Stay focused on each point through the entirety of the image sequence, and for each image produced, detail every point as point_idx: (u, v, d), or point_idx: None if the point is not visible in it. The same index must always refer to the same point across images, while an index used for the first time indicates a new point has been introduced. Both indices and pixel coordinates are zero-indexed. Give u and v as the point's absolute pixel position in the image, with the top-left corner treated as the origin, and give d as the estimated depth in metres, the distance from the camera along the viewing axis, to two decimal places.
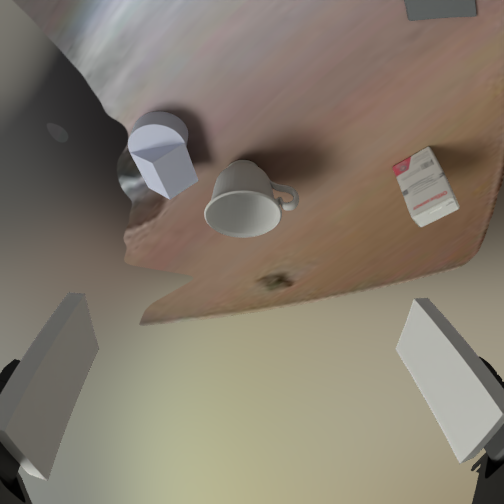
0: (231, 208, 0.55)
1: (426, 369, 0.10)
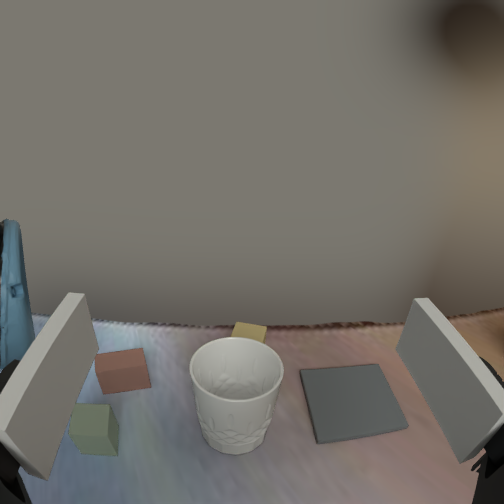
0: None
1: (426, 369, 0.10)
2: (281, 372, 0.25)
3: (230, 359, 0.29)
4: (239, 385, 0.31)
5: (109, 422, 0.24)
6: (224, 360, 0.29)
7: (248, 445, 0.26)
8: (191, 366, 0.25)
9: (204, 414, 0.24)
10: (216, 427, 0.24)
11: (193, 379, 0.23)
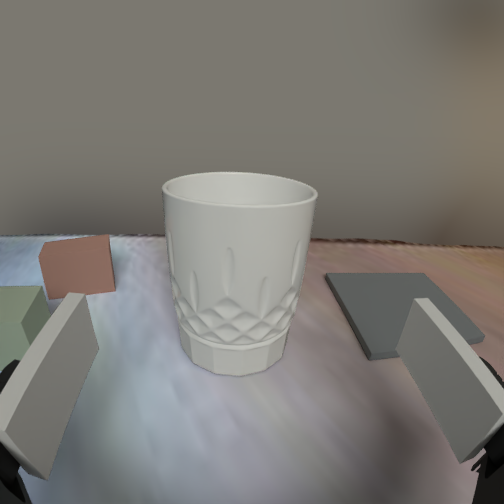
0: None
1: (426, 369, 0.10)
2: (313, 192, 0.15)
3: None
4: None
5: (34, 309, 0.15)
6: None
7: (259, 353, 0.17)
8: (166, 185, 0.15)
9: (181, 270, 0.15)
10: (202, 297, 0.15)
11: (165, 191, 0.14)
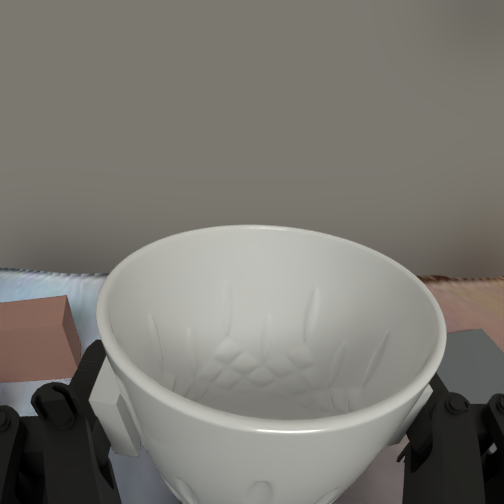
0: None
1: None
2: (429, 297, 0.07)
3: (245, 296, 0.11)
4: (266, 372, 0.12)
5: None
6: (228, 299, 0.11)
7: None
8: (111, 282, 0.07)
9: (159, 464, 0.06)
10: None
11: (98, 320, 0.05)
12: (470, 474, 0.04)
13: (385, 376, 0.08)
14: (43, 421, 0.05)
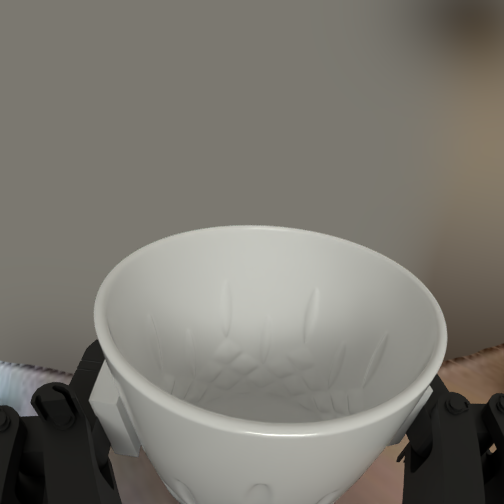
0: None
1: None
2: (429, 298, 0.07)
3: (245, 297, 0.11)
4: (265, 373, 0.12)
5: None
6: (227, 299, 0.11)
7: None
8: (109, 283, 0.07)
9: (157, 465, 0.06)
10: None
11: (95, 321, 0.05)
12: (470, 474, 0.04)
13: (384, 377, 0.08)
14: (43, 421, 0.05)
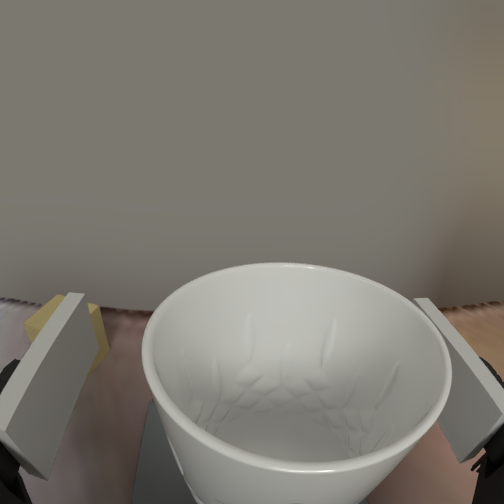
0: None
1: None
2: (438, 339, 0.07)
3: (267, 327, 0.12)
4: (284, 393, 0.13)
5: None
6: (251, 330, 0.12)
7: None
8: (151, 333, 0.07)
9: (198, 488, 0.06)
10: None
11: (148, 376, 0.06)
12: None
13: (395, 402, 0.09)
14: None
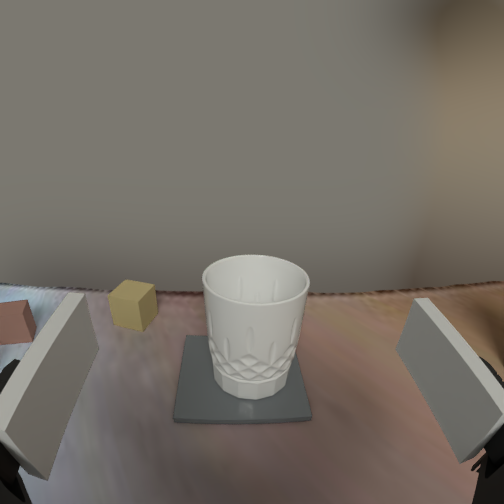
0: None
1: (426, 369, 0.10)
2: (306, 281, 0.23)
3: (247, 283, 0.27)
4: None
5: None
6: (240, 284, 0.27)
7: (269, 385, 0.24)
8: (204, 276, 0.23)
9: (218, 336, 0.22)
10: (232, 353, 0.22)
11: (206, 286, 0.22)
12: None
13: None
14: None
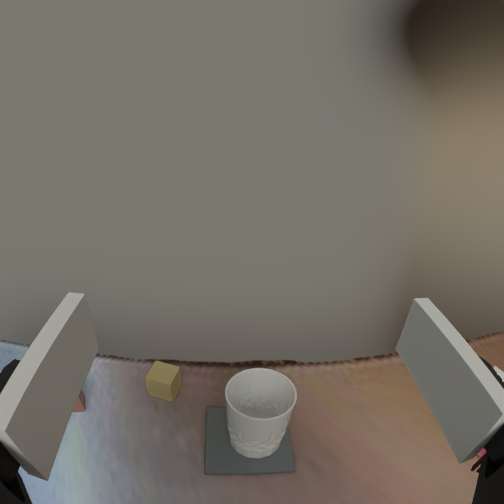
0: None
1: (426, 369, 0.10)
2: (295, 396, 0.32)
3: (254, 384, 0.36)
4: (260, 403, 0.37)
5: None
6: (249, 385, 0.36)
7: (268, 451, 0.33)
8: (226, 393, 0.32)
9: (236, 428, 0.31)
10: (245, 438, 0.31)
11: (228, 403, 0.30)
12: None
13: None
14: None
